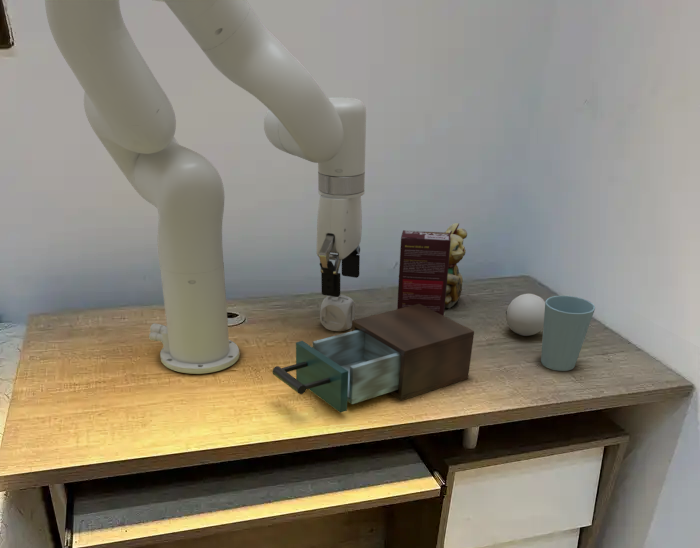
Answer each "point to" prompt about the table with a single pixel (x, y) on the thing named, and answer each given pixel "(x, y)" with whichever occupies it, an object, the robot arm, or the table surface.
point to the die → (337, 313)
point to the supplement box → (423, 269)
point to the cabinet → (422, 347)
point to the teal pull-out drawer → (343, 369)
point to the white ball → (526, 314)
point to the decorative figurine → (455, 264)
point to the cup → (564, 330)
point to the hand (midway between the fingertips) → (340, 285)
